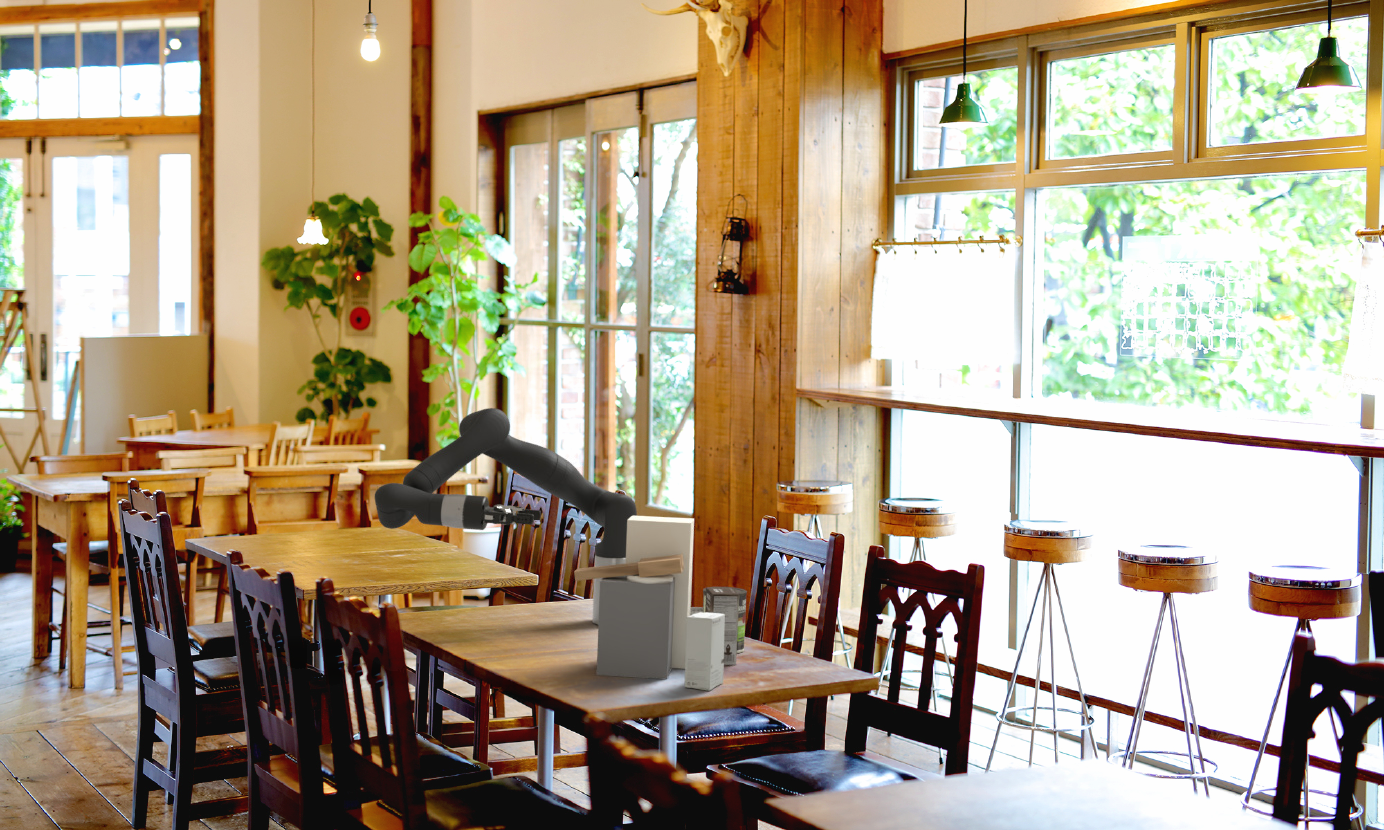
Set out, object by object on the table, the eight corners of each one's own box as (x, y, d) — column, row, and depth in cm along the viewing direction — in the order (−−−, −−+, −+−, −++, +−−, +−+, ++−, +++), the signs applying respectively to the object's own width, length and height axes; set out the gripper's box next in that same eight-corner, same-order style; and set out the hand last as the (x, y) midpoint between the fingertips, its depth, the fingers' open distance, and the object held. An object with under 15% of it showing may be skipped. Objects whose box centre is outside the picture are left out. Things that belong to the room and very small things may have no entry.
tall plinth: (626, 656, 296) (632, 515, 295) (688, 659, 295) (694, 518, 293) (621, 664, 287) (627, 519, 286) (685, 668, 286) (691, 523, 285)
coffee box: (702, 655, 299) (705, 586, 298) (729, 656, 300) (732, 586, 300) (709, 665, 290) (712, 593, 289) (737, 665, 291) (740, 593, 290)
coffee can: (750, 647, 310) (752, 588, 310) (736, 656, 300) (738, 595, 300) (709, 642, 314) (711, 584, 313) (694, 651, 304) (696, 590, 303)
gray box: (603, 664, 286) (606, 569, 286) (671, 668, 285) (675, 572, 285) (596, 674, 277) (600, 576, 276) (666, 678, 275) (670, 580, 275)
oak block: (579, 578, 285) (578, 565, 285) (683, 567, 283) (682, 554, 283) (574, 584, 278) (572, 570, 278) (681, 572, 276) (679, 558, 276)
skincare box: (709, 691, 266) (712, 619, 266) (682, 687, 268) (685, 615, 268) (724, 682, 274) (726, 612, 274) (697, 679, 276) (700, 609, 276)
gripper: (458, 497, 283) (532, 503, 282) (473, 492, 297) (543, 497, 296) (456, 532, 283) (529, 538, 282) (471, 524, 298) (541, 530, 297)
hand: (537, 517), depth 289 cm, fingers open, 8 cm apart
